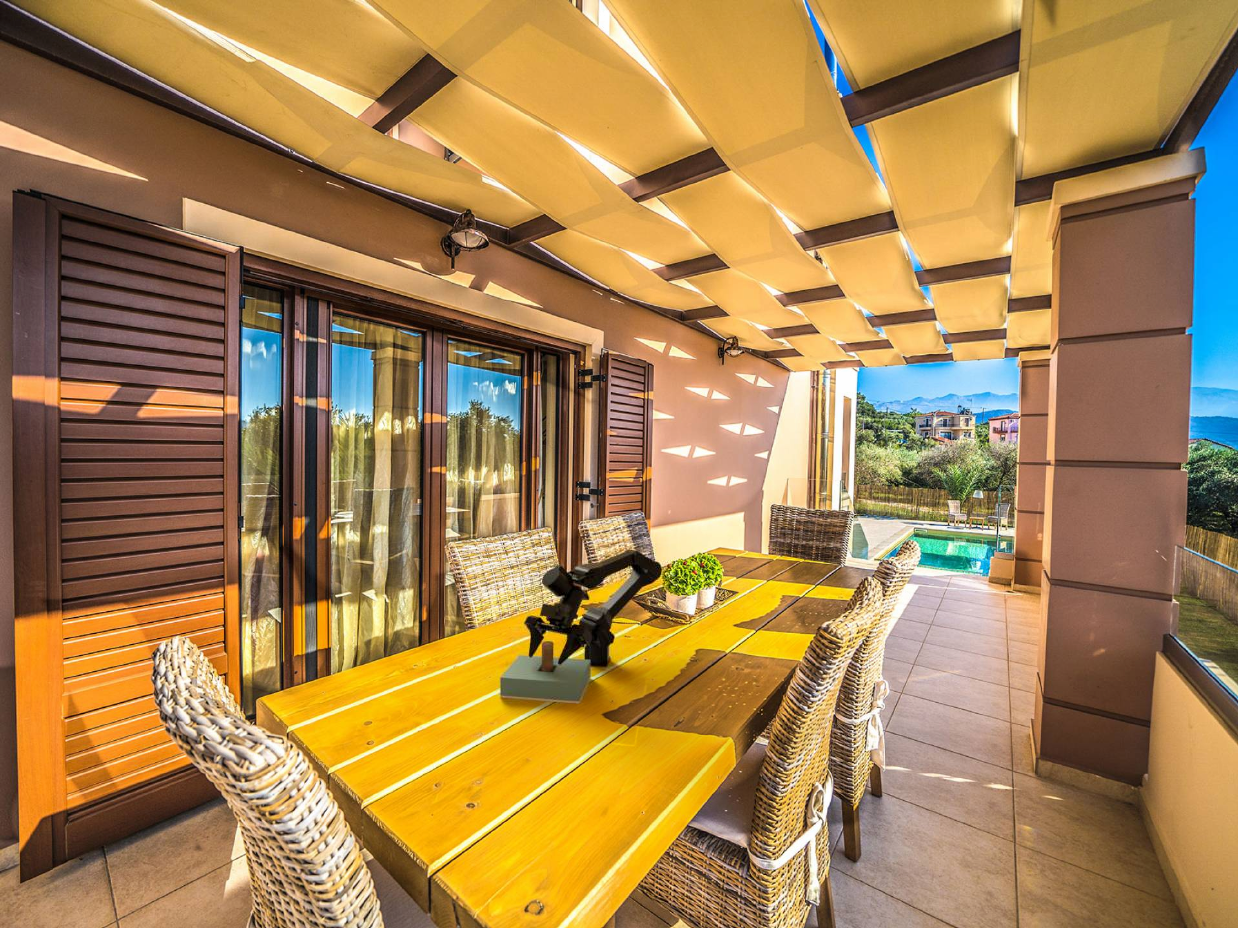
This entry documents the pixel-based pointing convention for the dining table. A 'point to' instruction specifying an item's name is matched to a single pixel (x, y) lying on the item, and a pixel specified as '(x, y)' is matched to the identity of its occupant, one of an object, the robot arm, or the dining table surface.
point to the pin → (547, 656)
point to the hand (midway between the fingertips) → (544, 660)
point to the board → (546, 680)
